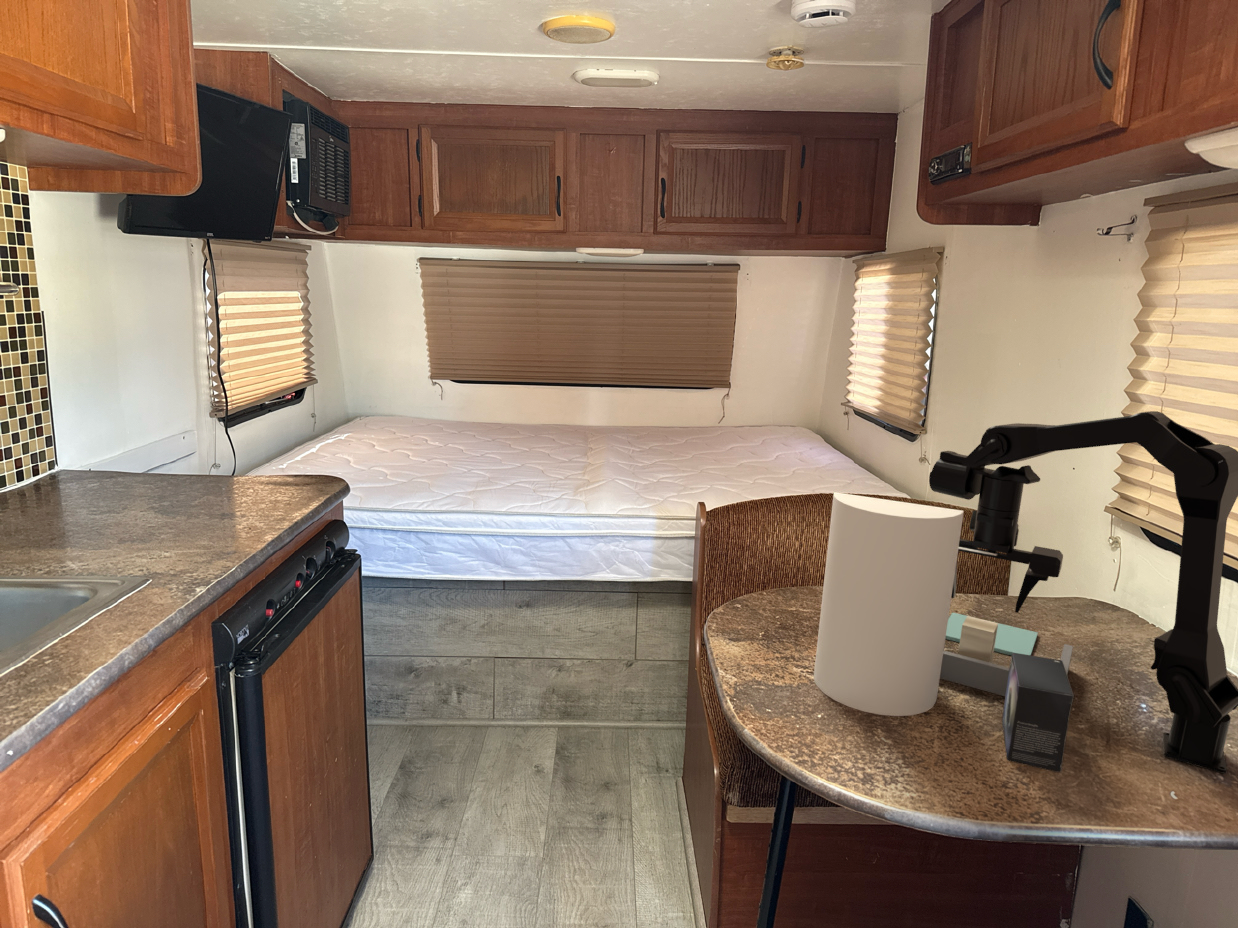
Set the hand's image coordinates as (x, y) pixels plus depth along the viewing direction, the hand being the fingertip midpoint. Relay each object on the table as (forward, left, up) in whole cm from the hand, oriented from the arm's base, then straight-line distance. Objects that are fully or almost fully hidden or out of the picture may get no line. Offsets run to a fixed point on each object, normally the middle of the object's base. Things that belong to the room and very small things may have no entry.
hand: (984, 604), depth 124 cm
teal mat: (+14, 0, -10) cm, 17 cm away
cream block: (0, 0, -10) cm, 10 cm away
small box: (-21, -10, -11) cm, 25 cm away
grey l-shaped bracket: (0, 0, -10) cm, 10 cm away
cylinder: (-17, +11, -10) cm, 23 cm away
